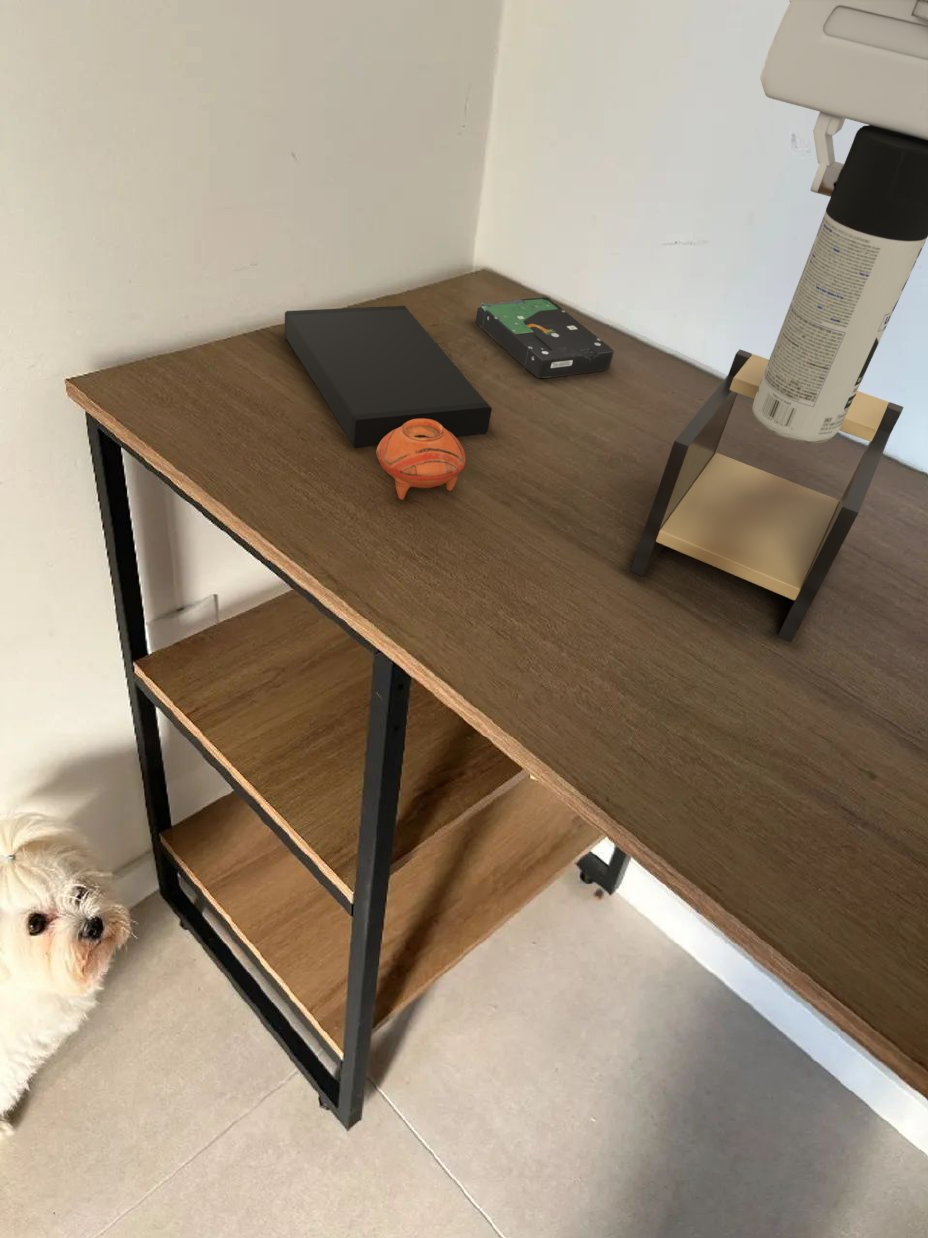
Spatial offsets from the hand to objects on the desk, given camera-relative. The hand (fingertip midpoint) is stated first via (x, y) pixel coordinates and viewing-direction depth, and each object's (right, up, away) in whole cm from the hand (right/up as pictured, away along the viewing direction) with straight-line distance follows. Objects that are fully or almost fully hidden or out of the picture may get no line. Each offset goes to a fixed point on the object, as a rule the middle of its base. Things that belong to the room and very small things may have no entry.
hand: (882, 210), depth 60 cm
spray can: (-2, -12, +10) cm, 16 cm away
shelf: (-3, -21, +23) cm, 32 cm away
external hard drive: (-36, -2, +38) cm, 53 cm away
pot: (-31, -15, +25) cm, 42 cm away
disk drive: (-18, +6, +50) cm, 54 cm away
